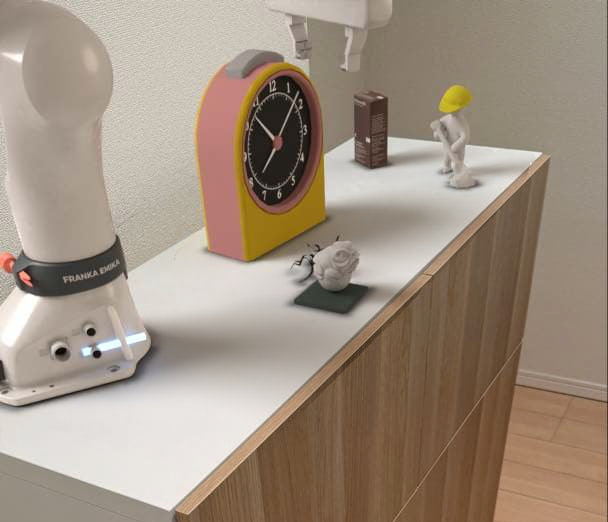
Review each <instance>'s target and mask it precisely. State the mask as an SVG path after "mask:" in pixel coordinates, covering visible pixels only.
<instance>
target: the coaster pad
mask: <svg viewBox="0 0 608 522" xmlns="http://www.w3.org/2000/svg"><path fill="white" fill-rule="evenodd" d="M368 291H369V285H363V284H359V283H358V284H357V283H352V282H349V284H348V285H347V286H346V287H345V288H344V289H342V290H340V291H329V290H326V289H325V288H324V287H322V285H321V284H320V283H319V281H318V278H317V279H316V280H315V281H314V282H313V283H311V284H310V285H309V286H308V287H307V288H306V289H305V290H303V291H302V292H301V293H300V294H298V295H297V296H296V297H295V298H294V299H293V303H294V304H295V305H299V306H304V307H309V308H314V309H318V310H324V311H329V312H332V313H339V314H343V315H344V314H345V313H347V311H349V310H350V308H352V307H353V306H354V305H355V304H356V303H357V302H358V301H359V300H360V299H361V298H362V297H363V296H364V295H366V293H367V292H368Z"/></svg>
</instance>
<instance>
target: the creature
mask: <svg viewBox="0 0 608 522" xmlns="http://www.w3.org/2000/svg"><path fill="white" fill-rule="evenodd" d="M340 237H341V235H337V237H336V238H335V242H336V241H339V239H340ZM304 242H305V244H306V245H307V248H308V250H309V251H310V252H309V255H308V254H304V255H302V256H301V258H300V260H294V262H293V263H292V265H291V266H290V271H291V270H292V269H293V267H294V266H295V265H296V266H298V267H301V266H302V263H303V260H304V259H306V260H307V261H308V263H307V264H306V265H307V266H309V267H310V272H309V274H308V276H307V277H305V278H302V279H301V280H299V281H298V283H303V282H304V281H306V280H308V279H309V278H312V275H313V274H314V267H313V266H314V264H315V263H314V262H313V257H314V256H315V255H316V254H317V253H318V252H320V251H321V250H323V249H325V248H326V247H322V248H320V245H319V244H314V246H315V248H317V249H314V248H313V247H312V246H311V245H310V244H308V243H307V242H306V241H304ZM335 242H334V243H335ZM310 248H311V249H312V250H313V252H315V253H316V254H313V253H312V252H311V249H310ZM306 256H307V257H306Z"/></svg>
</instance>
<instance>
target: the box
mask: <svg viewBox="0 0 608 522" xmlns="http://www.w3.org/2000/svg"><path fill="white" fill-rule="evenodd" d="M353 128H354V129H353V132H354V133H353V134H354V135H353V137H354V138H353V139H354V143H353V145H354V146H353V147H354V148H353V149H354V161H355V162H358V163H360V164H362V165H364V166H365V167H368V168H369V169H374V168H379V167H382V166H385V165H387V164H388V149H389V148H388V143H389V142H388V139H389V137H388V135H389V131H388V130H389V96H386V95H383V94H382V93H380V92H376V91H372V90H368V91H363V92H359V93H356V94H355V93H354V94H353Z"/></svg>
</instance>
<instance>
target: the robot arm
mask: <svg viewBox="0 0 608 522" xmlns="http://www.w3.org/2000/svg"><path fill="white" fill-rule="evenodd" d="M264 2H265V5H266V7H267V9H268V10H269V11H271V12H276V13H281V14H284V17H285V26H286V29H287V32H288V34H289V36H290V39H291V42H292V53H293V57H294V58H295V59H297V60H301V61H306V60H309V59H311V58H312V56H313V51H312V49H313V43H312V40H310V39H309V38H308V34H307V31H306V27H305V24H306V23H307V19H310V20H314V21H319V22H325V23H330V24H335V25H339V26H344V36H345V38H347V41H346V47H345V49H344V52H341V53H340V54H339V58H340V60H339V61H340V70H341V71H342V72H347V73H351V74H352V73H356V72H359V71H360V69H361V53H362V52H363V48H364V46H365V44H366V41H367V38H368V34H369V30H372V29H377V28H382V27H386V26H387V25H388V24H389V22H390V20H391V17H392V16H393V0H264ZM113 90H114V69H113V63H112V60H111V57H110V54H109V52H108V49H107V47H106V46H105V44H104V43H103V41H102V39H101V38H100V36H98V34H97V33H96V32H95V31H94V30H93V29H92V28H91V27H90V26H88V24H86V23H85V22H84V21H83V20H82V19H81V18H79V17H78V16H77V15H75V14H74V13H73V12H71V11H70V10H68V9H67V8H65V7H63V6H61V5H59V4H56V3H54V2H48V1H44V0H0V122H1V125H2V130H3V136H4V146H5V155H6V173H5V176H4V180H3V184H4V185H3V186H4V191H5V194H6V197H7V200H8V204H9V207H10V210H11V214H12V217H13V220H14V224H15V228H16V230H17V233H18V238H19V240H20V244H21V247H22V249H21V251H20V253H19V254H18V256H17V257H14V255H12V254H11V253H9V252H2V253H1V254H0V268H1V269H2V270H3V271H5V272H6V273H7V274H10V275H12V277H13V280H14V282H15V285H16V286H15V287H14V289H13V290H12V291H11V292H10V294H9V295H8V296H7V297H6V298H5V300H4V301H3V303H2V304H1V305H0V402H1V403H3V404H6V405H9V406H14V407H15V406H16V407H19V406H24V405H28V404H32V403H36V402H39V401H43V400H44V401H45V400H47V399H51V398H55V397H59V396H63V395H66V394H70V393H74V392H78V391H82V390H84V389H89V388H93V387H97V386H101V385H105V384H108V383H112V382H117V381H120V380H124V379H128V378H130V377H131V376H133V375H134V374H135V371H136V368H137V364H138V363H139V362H140V360H141V359H142V358H144V357H145V356H146V354H147V353H148V351H149V350H150V348H151V345H152V340H151V339H152V338H151V335H150V334H149V332H148V331H147V329H146V327H145V325H144V323H143V321H142V319H141V317H140V315H139V312H138V310H137V307H136V305H135V302H134V298H133V296H132V293H131V290H130V287H129V283H128V279H129V276H128V275H129V274H128V270H127V269H128V266H127V259H126V256H125V252H124V248H123V246H122V243H121V239H120V236H119V235H118V233H117V234H116V232H115V226H114V222H113V216H112V212H111V207H110V203H109V196H108V193H107V192H108V191H107V187H106V183H105V176H104V169H103V144H102V143H103V117H104V114H105V112H106V110H107V108H108V106H109V105H110V102H111V99H112V95H113Z"/></svg>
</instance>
